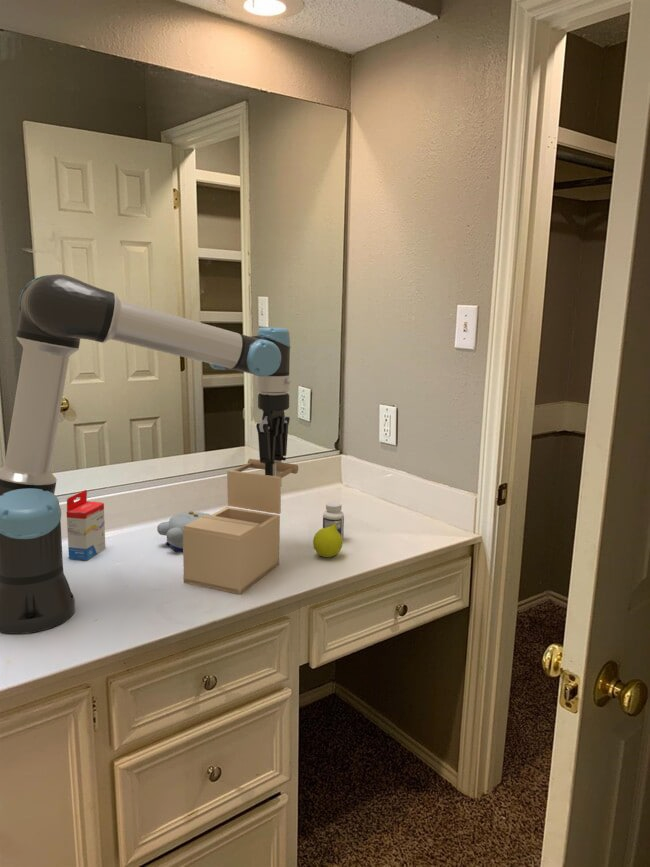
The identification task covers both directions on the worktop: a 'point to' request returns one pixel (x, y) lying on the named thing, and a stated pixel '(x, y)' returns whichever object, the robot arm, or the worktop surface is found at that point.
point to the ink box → (85, 527)
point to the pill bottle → (334, 517)
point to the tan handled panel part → (257, 487)
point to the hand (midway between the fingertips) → (273, 487)
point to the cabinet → (230, 549)
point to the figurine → (177, 528)
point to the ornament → (328, 541)
